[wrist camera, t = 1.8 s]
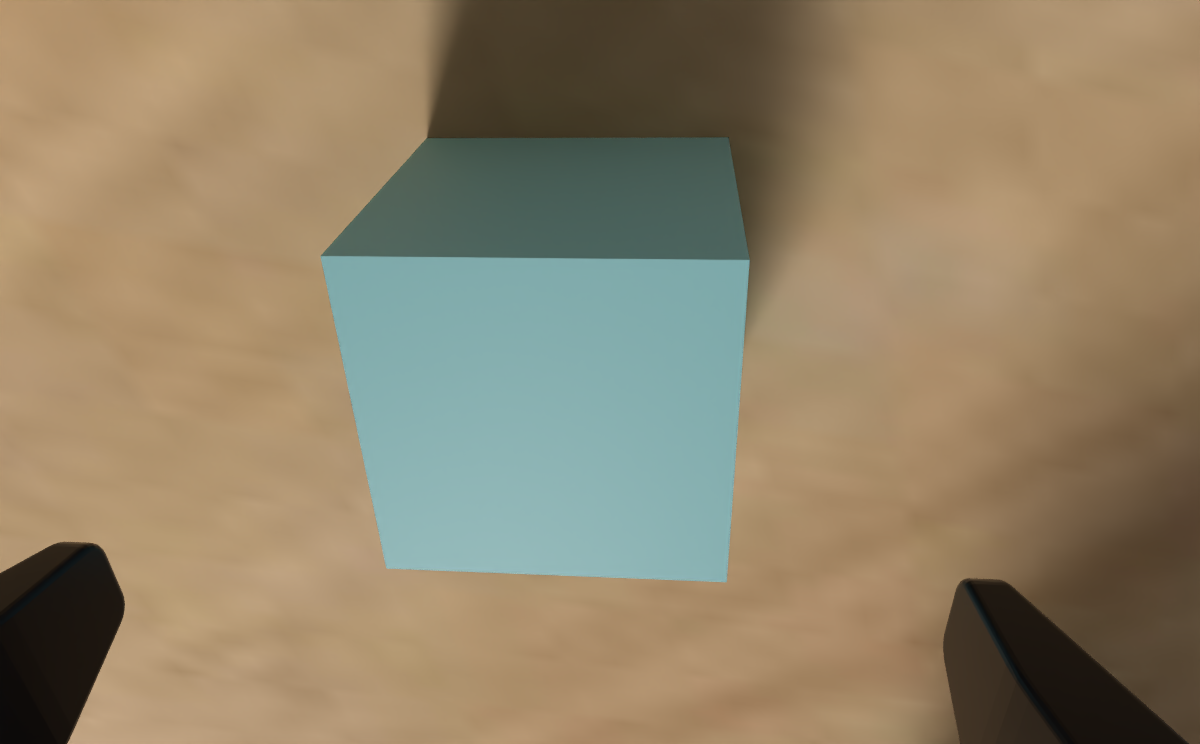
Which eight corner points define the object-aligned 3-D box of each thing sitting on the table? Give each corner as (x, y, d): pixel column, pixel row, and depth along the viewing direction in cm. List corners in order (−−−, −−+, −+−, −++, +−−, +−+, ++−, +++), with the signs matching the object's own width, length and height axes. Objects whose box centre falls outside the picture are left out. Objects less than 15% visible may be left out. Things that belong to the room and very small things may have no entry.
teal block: (728, 136, 14) (749, 260, 10) (714, 394, 16) (726, 581, 12) (427, 136, 14) (320, 255, 10) (460, 388, 17) (387, 568, 13)
